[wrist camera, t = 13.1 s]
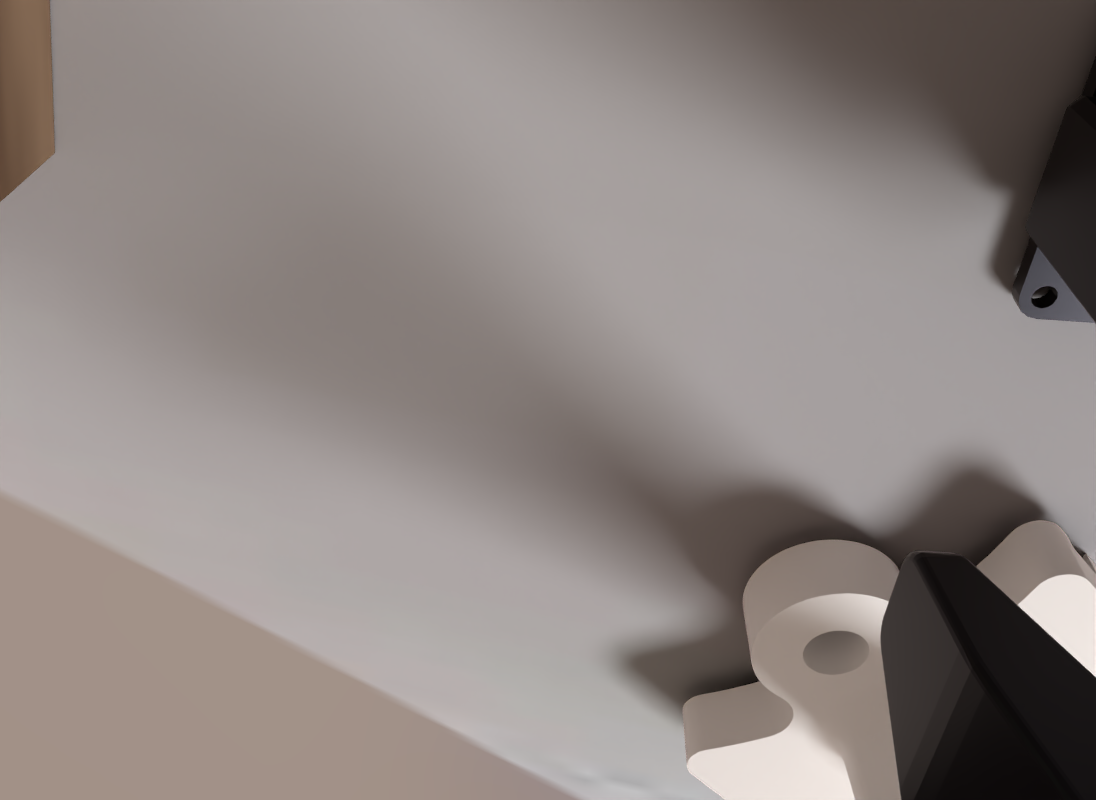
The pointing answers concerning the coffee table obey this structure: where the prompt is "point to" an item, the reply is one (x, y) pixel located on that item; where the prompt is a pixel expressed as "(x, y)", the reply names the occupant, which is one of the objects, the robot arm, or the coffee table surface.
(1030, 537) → the joystick
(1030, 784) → the robot arm
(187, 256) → the coffee table surface
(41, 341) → the coffee table surface
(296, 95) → the coffee table surface
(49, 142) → the base block
